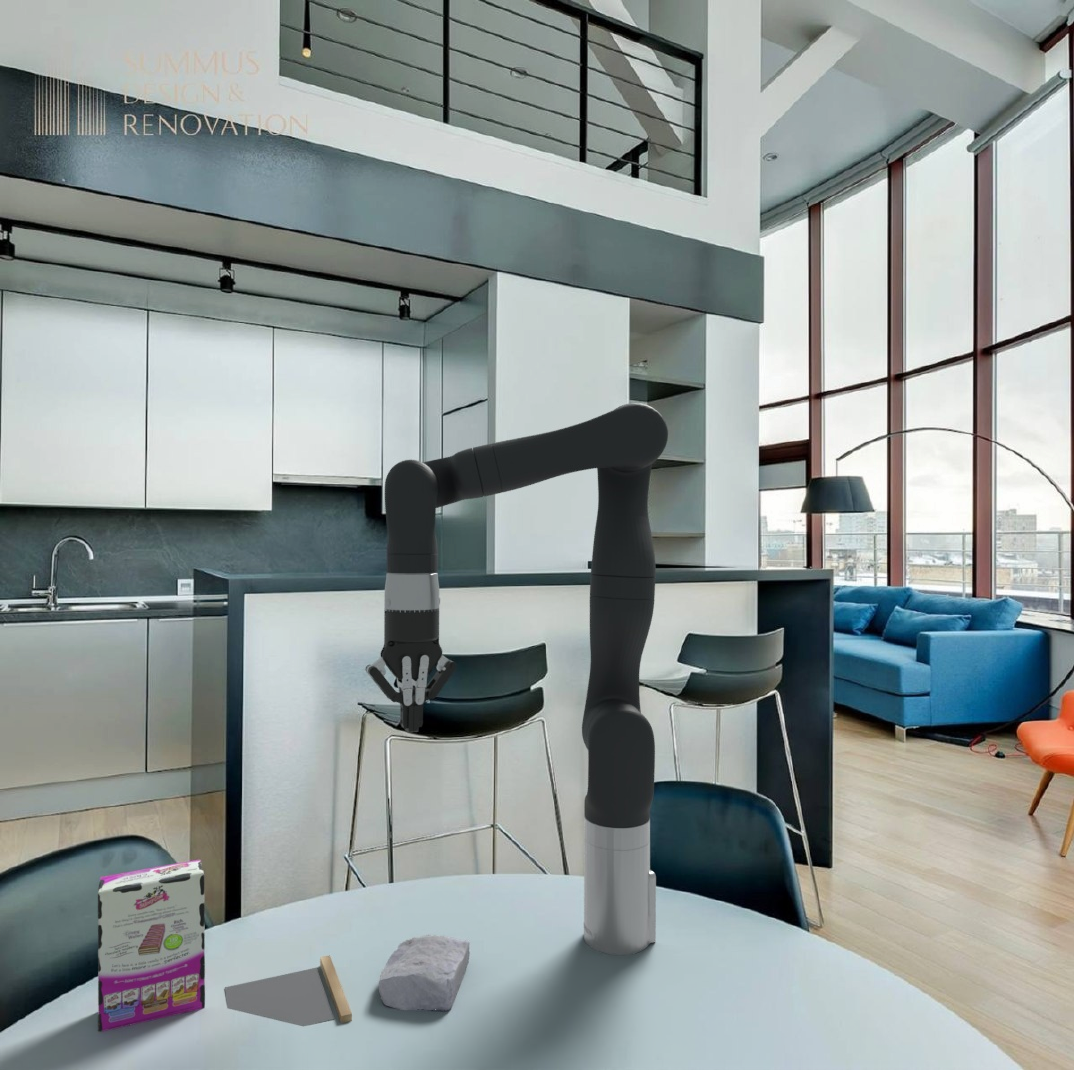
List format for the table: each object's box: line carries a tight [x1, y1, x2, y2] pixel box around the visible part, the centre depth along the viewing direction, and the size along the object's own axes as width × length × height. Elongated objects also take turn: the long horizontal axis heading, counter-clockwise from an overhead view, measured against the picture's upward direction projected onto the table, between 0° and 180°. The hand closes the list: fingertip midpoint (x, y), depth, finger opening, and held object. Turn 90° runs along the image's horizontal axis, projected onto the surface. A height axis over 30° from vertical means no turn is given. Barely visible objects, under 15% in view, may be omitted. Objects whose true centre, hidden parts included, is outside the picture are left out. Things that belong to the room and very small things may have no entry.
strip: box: [319, 955, 353, 1024], centre depth 97 cm, size 1×14×1 cm, turn 25°
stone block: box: [378, 934, 471, 1012], centre depth 99 cm, size 12×5×10 cm
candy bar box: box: [97, 859, 206, 1032], centre depth 92 cm, size 11×5×16 cm, turn 117°
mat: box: [224, 967, 335, 1027], centre depth 94 cm, size 11×12×1 cm
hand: (411, 730), depth 110 cm, fingers closed
